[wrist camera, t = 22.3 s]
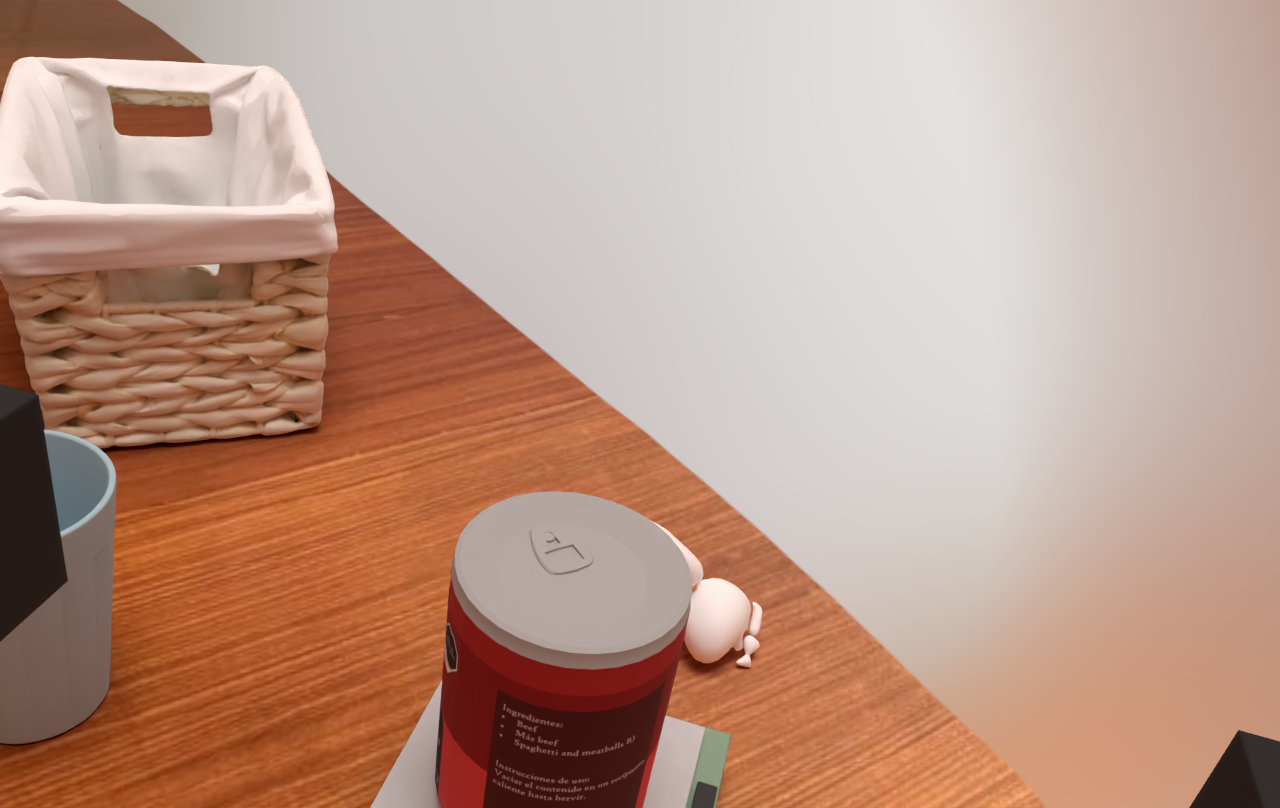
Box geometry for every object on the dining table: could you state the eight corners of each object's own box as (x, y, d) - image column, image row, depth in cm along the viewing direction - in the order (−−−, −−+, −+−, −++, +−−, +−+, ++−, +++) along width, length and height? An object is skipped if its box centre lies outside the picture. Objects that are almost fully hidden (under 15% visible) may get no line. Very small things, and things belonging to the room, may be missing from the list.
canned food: (536, 679, 45) (568, 462, 39) (685, 800, 41) (744, 577, 35) (386, 782, 39) (398, 547, 34) (540, 932, 35) (583, 694, 30)
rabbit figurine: (758, 706, 50) (614, 633, 47) (712, 707, 53) (575, 639, 50) (792, 587, 52) (658, 512, 50) (747, 595, 56) (618, 525, 53)
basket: (343, 447, 61) (346, 203, 54) (16, 476, 55) (-33, 204, 48) (290, 264, 80) (287, 62, 72) (40, 270, 73) (8, 49, 66)
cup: (-123, 707, 42) (-185, 493, 37) (53, 601, 48) (21, 404, 43) (9, 802, 40) (-36, 587, 34) (177, 677, 46) (160, 478, 41)
